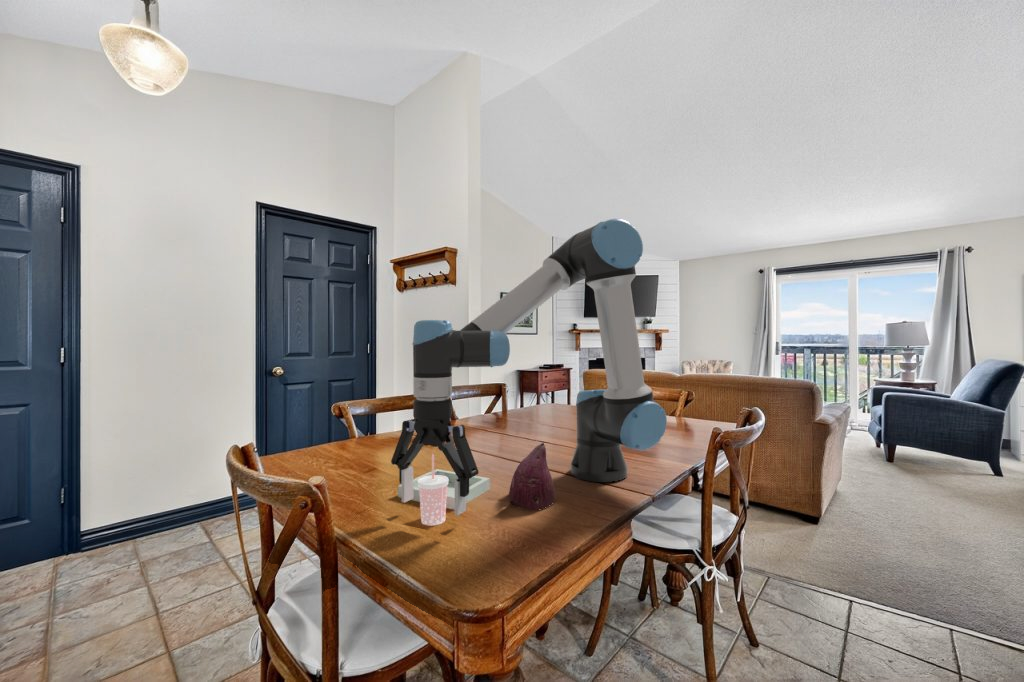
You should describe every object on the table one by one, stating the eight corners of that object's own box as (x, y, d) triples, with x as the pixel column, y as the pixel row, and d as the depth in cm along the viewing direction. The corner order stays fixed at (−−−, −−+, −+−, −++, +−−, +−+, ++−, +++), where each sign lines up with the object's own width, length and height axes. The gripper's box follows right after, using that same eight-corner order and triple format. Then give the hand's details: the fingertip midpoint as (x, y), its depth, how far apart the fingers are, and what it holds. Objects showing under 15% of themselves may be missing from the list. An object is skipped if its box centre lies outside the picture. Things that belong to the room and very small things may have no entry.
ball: (448, 485, 102) (448, 472, 102) (440, 489, 99) (440, 475, 99) (438, 483, 103) (438, 470, 103) (430, 486, 100) (429, 473, 100)
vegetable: (554, 509, 97) (571, 447, 98) (546, 521, 87) (564, 452, 88) (513, 493, 100) (529, 433, 101) (500, 504, 90) (519, 437, 91)
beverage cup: (435, 515, 86) (435, 448, 86) (455, 524, 82) (454, 453, 82) (411, 525, 82) (410, 454, 82) (430, 535, 78) (430, 460, 78)
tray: (489, 492, 99) (489, 478, 99) (455, 514, 87) (455, 498, 87) (436, 482, 107) (436, 469, 107) (397, 501, 94) (397, 485, 94)
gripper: (373, 396, 84) (373, 501, 84) (474, 404, 73) (474, 526, 73) (399, 392, 91) (399, 489, 91) (496, 399, 79) (496, 511, 79)
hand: (433, 506), depth 82 cm, fingers open, 12 cm apart
